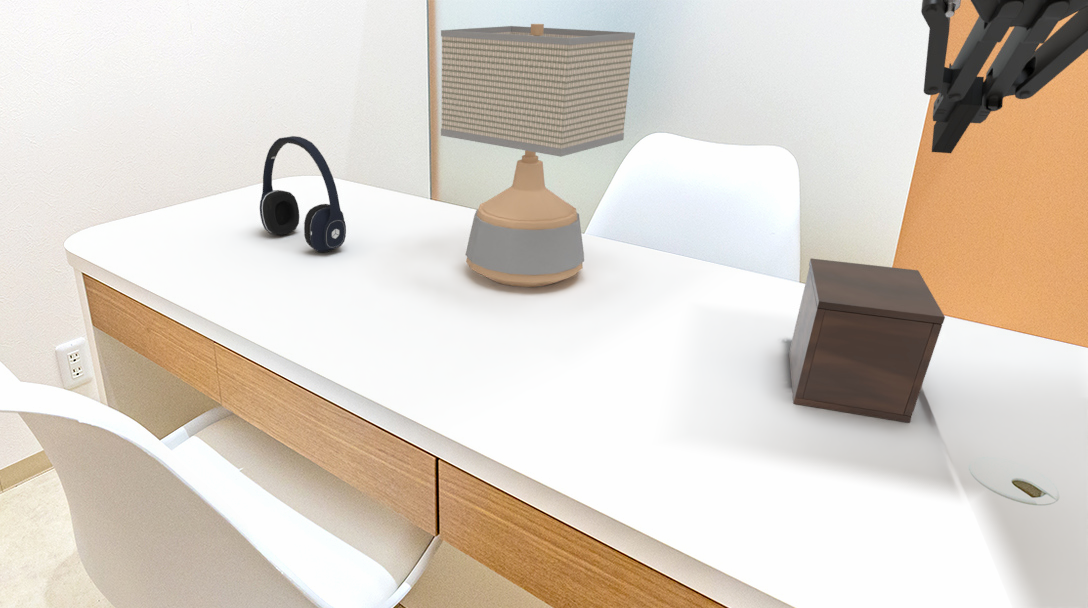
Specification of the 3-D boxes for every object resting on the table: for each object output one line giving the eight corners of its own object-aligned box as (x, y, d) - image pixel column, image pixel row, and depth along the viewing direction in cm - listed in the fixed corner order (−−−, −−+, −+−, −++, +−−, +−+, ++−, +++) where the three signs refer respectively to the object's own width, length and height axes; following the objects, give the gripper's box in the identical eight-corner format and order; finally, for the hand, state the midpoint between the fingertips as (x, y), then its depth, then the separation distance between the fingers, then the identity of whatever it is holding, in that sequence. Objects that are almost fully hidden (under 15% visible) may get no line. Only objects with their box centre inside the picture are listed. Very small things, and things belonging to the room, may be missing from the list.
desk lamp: (613, 273, 121) (641, 24, 104) (544, 307, 108) (563, 30, 92) (507, 244, 134) (517, 19, 117) (434, 271, 121) (433, 23, 104)
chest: (788, 353, 95) (809, 267, 90) (890, 368, 92) (918, 279, 87) (793, 403, 84) (817, 308, 79) (909, 423, 81) (942, 324, 75)
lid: (808, 264, 91) (810, 258, 91) (916, 276, 88) (918, 270, 87) (817, 308, 79) (819, 301, 78) (942, 324, 75) (945, 317, 75)
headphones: (354, 250, 130) (348, 143, 122) (322, 259, 126) (314, 148, 118) (287, 226, 143) (277, 127, 134) (255, 234, 138) (244, 132, 130)
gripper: (1226, -155, 43) (1031, 108, 64) (964, -145, 47) (864, 99, 68) (1230, -53, 41) (1028, 183, 62) (956, -52, 45) (855, 170, 66)
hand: (942, 139), depth 65 cm, fingers closed
